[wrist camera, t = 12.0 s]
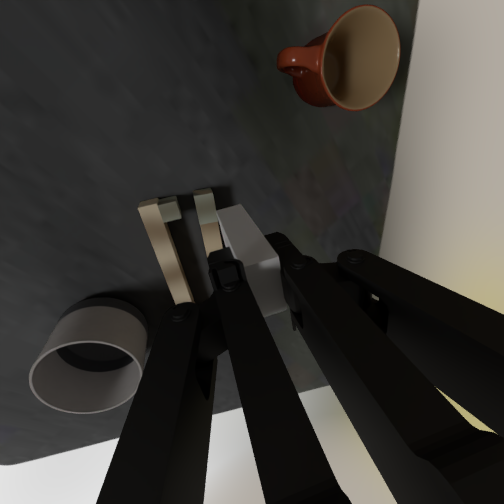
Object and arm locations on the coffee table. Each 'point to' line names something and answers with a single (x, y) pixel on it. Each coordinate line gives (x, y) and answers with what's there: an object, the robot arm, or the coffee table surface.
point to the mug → (346, 61)
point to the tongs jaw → (208, 219)
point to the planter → (92, 357)
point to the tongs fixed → (166, 243)
